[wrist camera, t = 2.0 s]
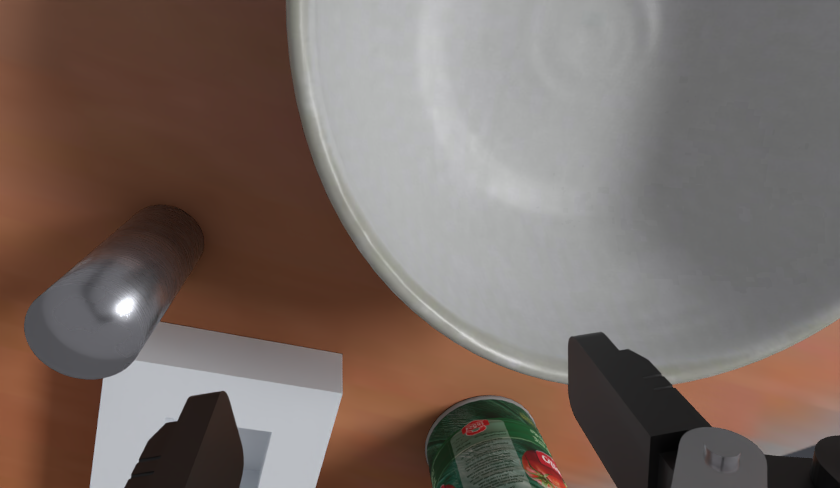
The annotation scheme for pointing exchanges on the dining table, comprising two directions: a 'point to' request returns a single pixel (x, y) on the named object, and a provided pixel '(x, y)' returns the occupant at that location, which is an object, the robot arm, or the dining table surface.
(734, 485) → the robot arm
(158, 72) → the dining table surface
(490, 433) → the canned tomato
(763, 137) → the decorative bowl
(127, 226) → the shiny steel cylinder
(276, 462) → the jig
